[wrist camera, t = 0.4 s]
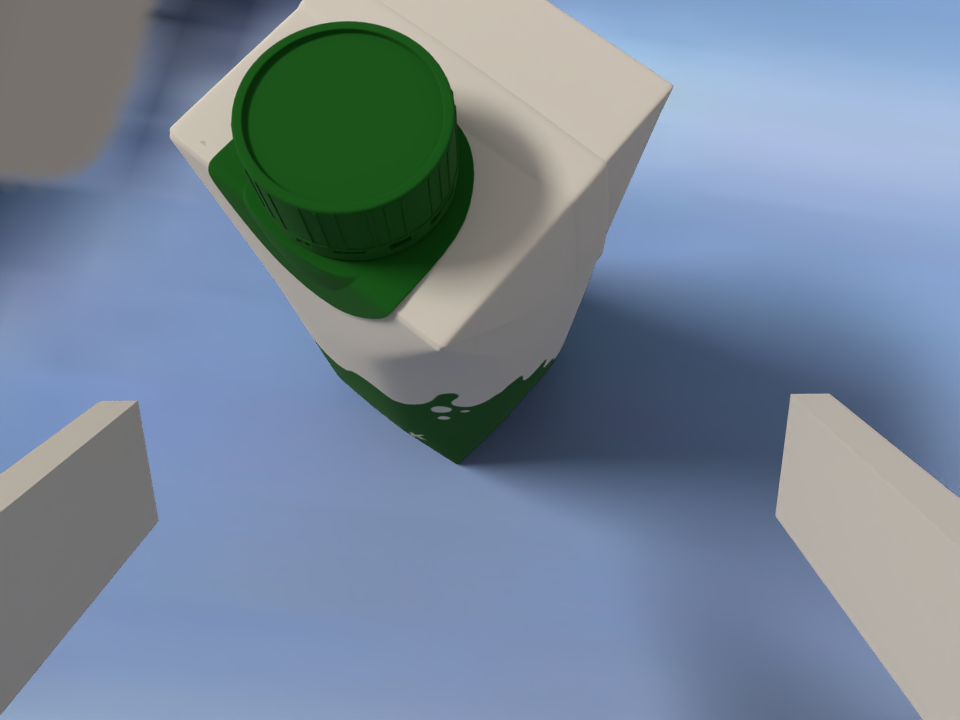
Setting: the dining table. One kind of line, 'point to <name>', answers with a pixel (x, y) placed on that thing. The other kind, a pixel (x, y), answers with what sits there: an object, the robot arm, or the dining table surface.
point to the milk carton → (428, 190)
